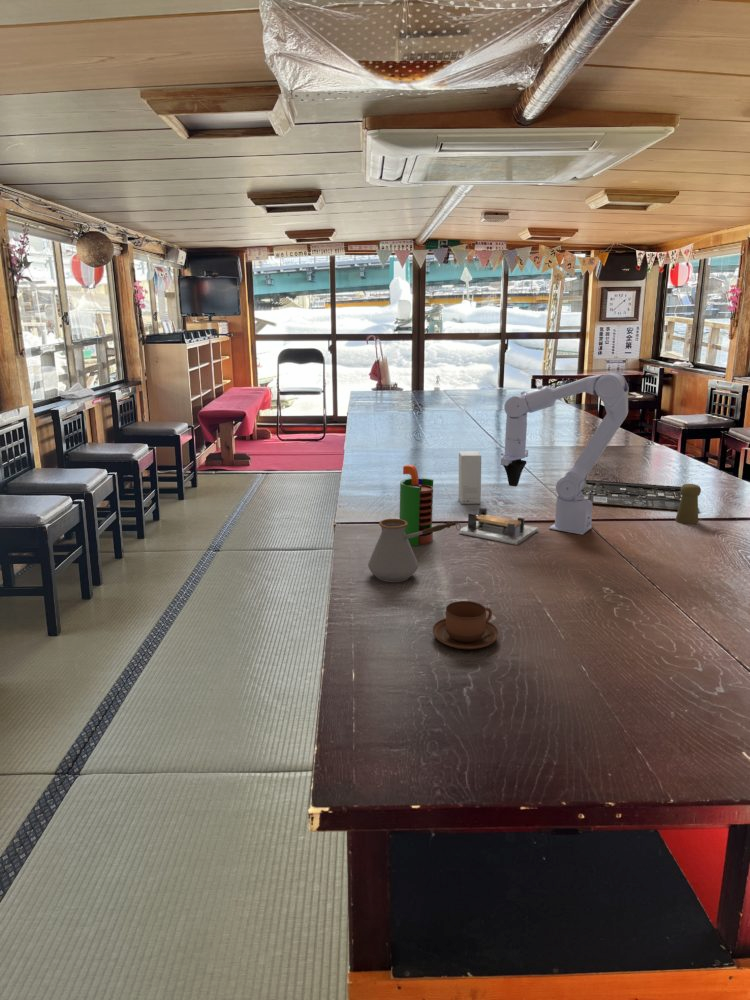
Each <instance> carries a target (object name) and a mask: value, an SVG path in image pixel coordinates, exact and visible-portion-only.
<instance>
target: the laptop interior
mask: <svg viewBox="0 0 750 1000" xmlns="http://www.w3.org/2000/svg"><path fill="white" fill-rule="evenodd" d="M681 487H682V486H677V485H675V486H674V485H663V484H662V485H661V484H648V483H634V482H632V483H631V482H621V481H605V480H590V479H586V485H585V487H584V489H583V490H581V492H582V493H583V495H584V499H586V500H590V501H592V504H593V506H594V505H595V506H597V505H598V506H607V507H608V506H609V507H610V506H611V507H621V508H633V509H644V510H645V509H648V510H649V509H650V510H656V511H657V510H658V511H659V510H662V511H671V512H672V511H673V512H678V509H679V505H680V501H681V497H682V494H681ZM698 512H700V508H699V507H698Z"/></svg>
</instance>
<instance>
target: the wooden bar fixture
mask: <svg viewBox="0 0 750 1000" xmlns="http://www.w3.org/2000/svg"><path fill="white" fill-rule="evenodd" d="M487 511H488V508H486V507H478V514H480V513H482V514H485V515H488V514H487ZM476 515H477V513H473V512H468V515H467V516H468V517H467V518H468V519H467V525H466V526H463V527H461V529H460V528H459V529H460V530H459V529H458V530H459V531H458V534H460V535H466V536H470V537H475V538H480V539H485V540H486V539H487V540H491V541H496V542H501V543H506V544H510V545H515V546H517V545H519V544H521V543H522V542H523V541H525V540H527V539H528V538H530V537H531V536H534V534H535V533H537V532H538V531H539V527H537V526H533V525H527V524H525V518H524V517H517V520H519V521H521V524H520V525H518V526H517V527H515V524H510V523H509V524H508V527H507V526H501V525H496V524H490V523H485V522H479V521H476Z"/></svg>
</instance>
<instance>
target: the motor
mask: <svg viewBox="0 0 750 1000" xmlns="http://www.w3.org/2000/svg"><path fill="white" fill-rule="evenodd" d="M402 468H403V469H402V474H403V475H410V477H409V478H405V479H402V480H400V482H399V483H400V485H399V489H400V490H399V519H401V520H405V521H406V522H407V523H408V525H407V526H406V527H405V534H406V535H408V534H412V533H416V532H420V531H423V530H425V529H428V528H431V527H433V526H432V525H433V503H434V500H433V497H434V479H433V478H432V479H431V478H426V477H425V478H424V477H419V475H418V470H417V467H416V466H415V465H414V464H406V465H404V466H403V467H402ZM433 537H434V532H431V533H427V534H422V535H418V536H415V537H412V538H409V539H408V541H409V543H410V545H411V547H412V546H415V547H417V546H418V547H419V545H426V544H427V545H428V544H430V543H432V542H433V540H434V539H433Z"/></svg>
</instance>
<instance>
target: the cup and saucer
mask: <svg viewBox="0 0 750 1000" xmlns="http://www.w3.org/2000/svg"><path fill="white" fill-rule="evenodd" d="M492 611H493V610H492V609H491V608H490V607H485V606H484V605H482V604H481V603H478V602H474V601H471V600H470V601H468V600H459V601H453V602H451V603H449V604H448V605H446V607H445V618H443V619H440V620H438V621H437V622H436V623H435V624H434V625H433V626H432V633H433V635H434V637H435V638H436V640H438V641H439V642H440V643H442V644H444V645H446V646H447V647H450V648H454V649H460V650H461V649H462V650H476V649H482V648H485V647H488V646H490V645H491V644H493V643H494V642H495V641H496V640H497V639H498V636H499V629H498V628H497V627H496V626H495V625H494V624H493V623H491V622H489V621H490V620H491V619H492V616H493V612H492ZM487 612H488V616H487Z"/></svg>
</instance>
